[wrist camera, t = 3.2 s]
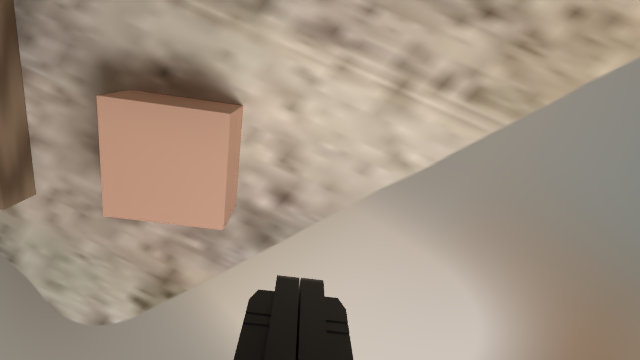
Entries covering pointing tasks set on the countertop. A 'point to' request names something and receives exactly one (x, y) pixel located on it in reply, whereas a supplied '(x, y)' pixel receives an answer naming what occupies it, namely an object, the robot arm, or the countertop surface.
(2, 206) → the walnut board
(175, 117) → the terracotta block
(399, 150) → the countertop surface
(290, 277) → the robot arm
